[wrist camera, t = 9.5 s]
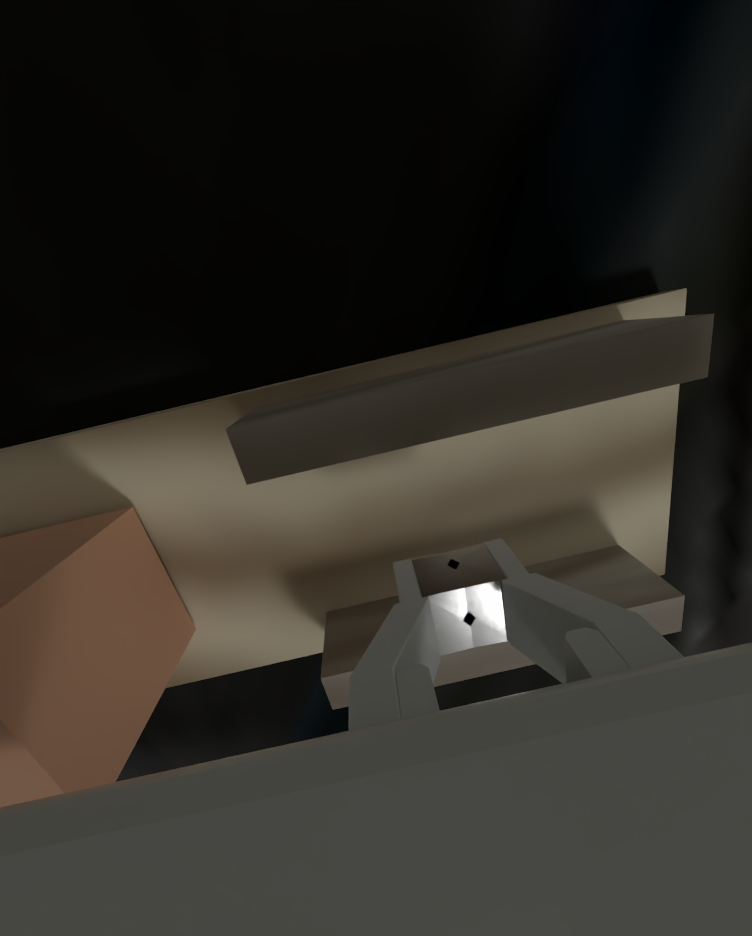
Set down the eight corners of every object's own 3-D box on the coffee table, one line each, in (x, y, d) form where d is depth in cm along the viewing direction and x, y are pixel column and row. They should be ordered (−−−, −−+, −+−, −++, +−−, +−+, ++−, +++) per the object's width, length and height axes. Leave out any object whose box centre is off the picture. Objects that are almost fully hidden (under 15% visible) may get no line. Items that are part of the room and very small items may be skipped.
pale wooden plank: (-243, 506, 12) (-500, 579, 9) (660, 292, 12) (801, 270, 8) (-45, 717, 16) (-165, 832, 12) (645, 560, 16) (737, 628, 12)
